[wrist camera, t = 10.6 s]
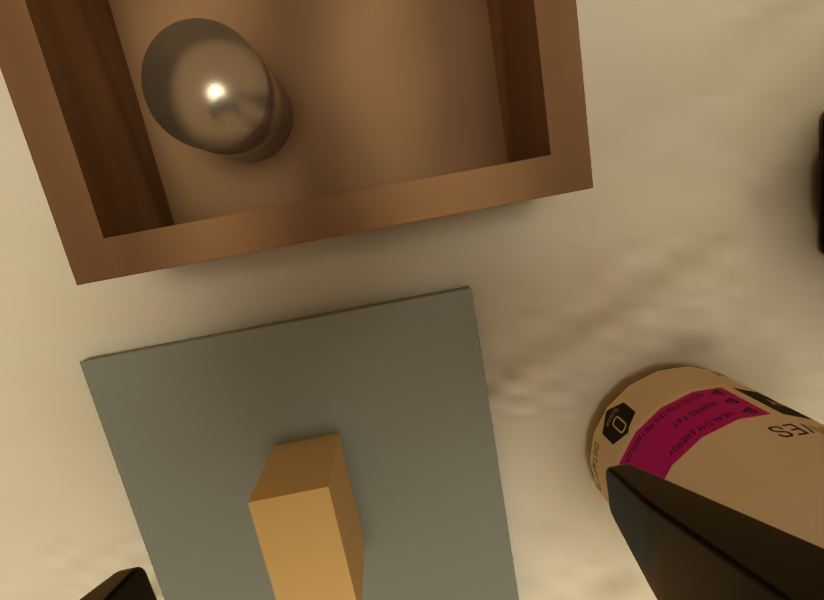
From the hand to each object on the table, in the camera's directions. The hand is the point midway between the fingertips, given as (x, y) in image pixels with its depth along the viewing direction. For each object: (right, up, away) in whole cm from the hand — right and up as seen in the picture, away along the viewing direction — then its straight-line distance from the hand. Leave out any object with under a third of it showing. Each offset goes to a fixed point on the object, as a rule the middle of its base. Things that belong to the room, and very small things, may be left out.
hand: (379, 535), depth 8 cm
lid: (-4, -5, +14) cm, 15 cm away
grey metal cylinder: (-6, +12, +9) cm, 16 cm away
